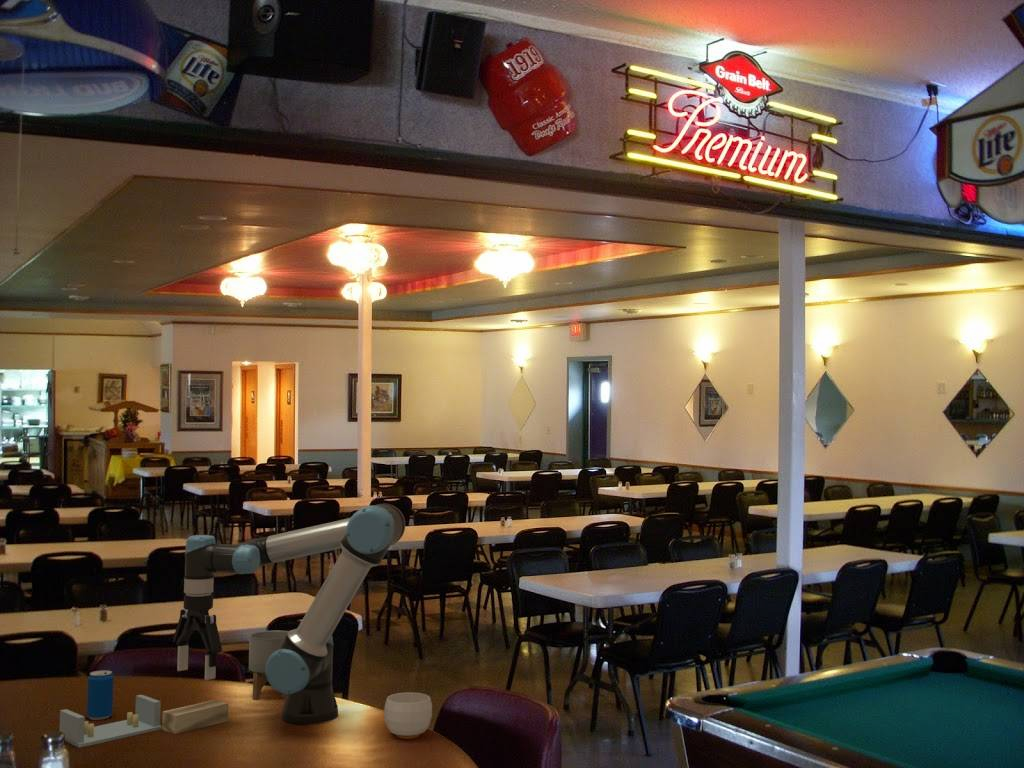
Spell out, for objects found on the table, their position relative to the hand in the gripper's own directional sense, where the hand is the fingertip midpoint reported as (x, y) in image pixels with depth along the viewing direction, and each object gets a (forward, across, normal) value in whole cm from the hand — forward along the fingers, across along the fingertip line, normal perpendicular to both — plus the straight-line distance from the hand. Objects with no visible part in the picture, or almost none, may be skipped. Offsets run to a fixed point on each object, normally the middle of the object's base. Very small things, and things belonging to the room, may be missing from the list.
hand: (196, 674), depth 274 cm
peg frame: (+13, +9, +19) cm, 25 cm away
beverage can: (+14, +25, +14) cm, 31 cm away
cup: (+13, -47, -33) cm, 59 cm away
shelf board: (+14, 0, 0) cm, 14 cm away
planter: (+13, +12, -32) cm, 37 cm away
